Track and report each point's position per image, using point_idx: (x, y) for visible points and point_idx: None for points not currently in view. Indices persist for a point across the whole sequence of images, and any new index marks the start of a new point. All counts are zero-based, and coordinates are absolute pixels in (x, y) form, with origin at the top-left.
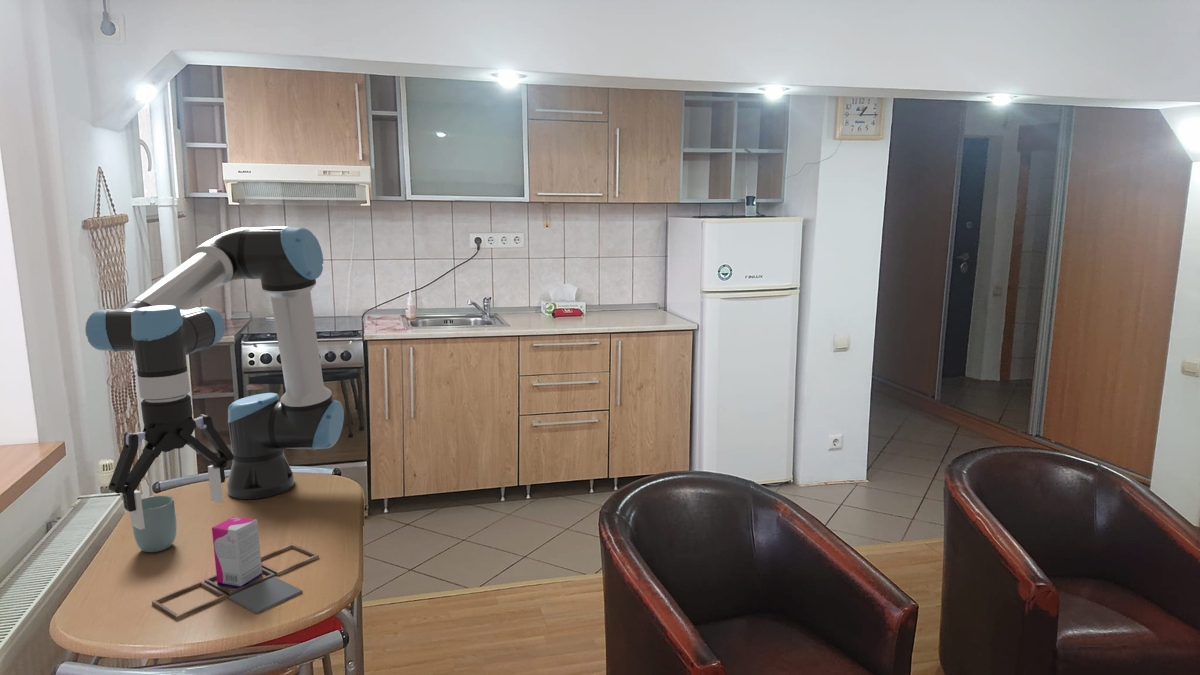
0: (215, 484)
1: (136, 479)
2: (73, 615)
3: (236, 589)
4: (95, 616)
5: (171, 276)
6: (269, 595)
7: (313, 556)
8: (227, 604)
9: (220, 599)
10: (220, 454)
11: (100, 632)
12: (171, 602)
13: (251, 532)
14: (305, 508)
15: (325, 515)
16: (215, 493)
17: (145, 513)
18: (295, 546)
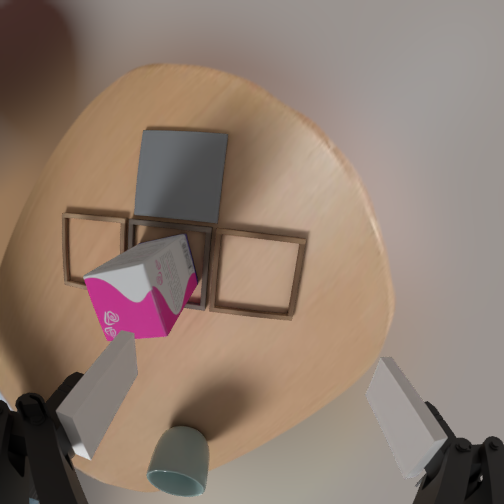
0: (107, 381)
1: (459, 480)
2: (352, 373)
3: (196, 230)
4: (345, 351)
5: None
6: (180, 162)
7: (68, 215)
8: (231, 207)
9: (229, 229)
10: (24, 457)
11: (371, 306)
12: (272, 298)
13: (112, 264)
14: (24, 353)
15: (14, 315)
16: (123, 365)
17: (195, 475)
18: (66, 272)
